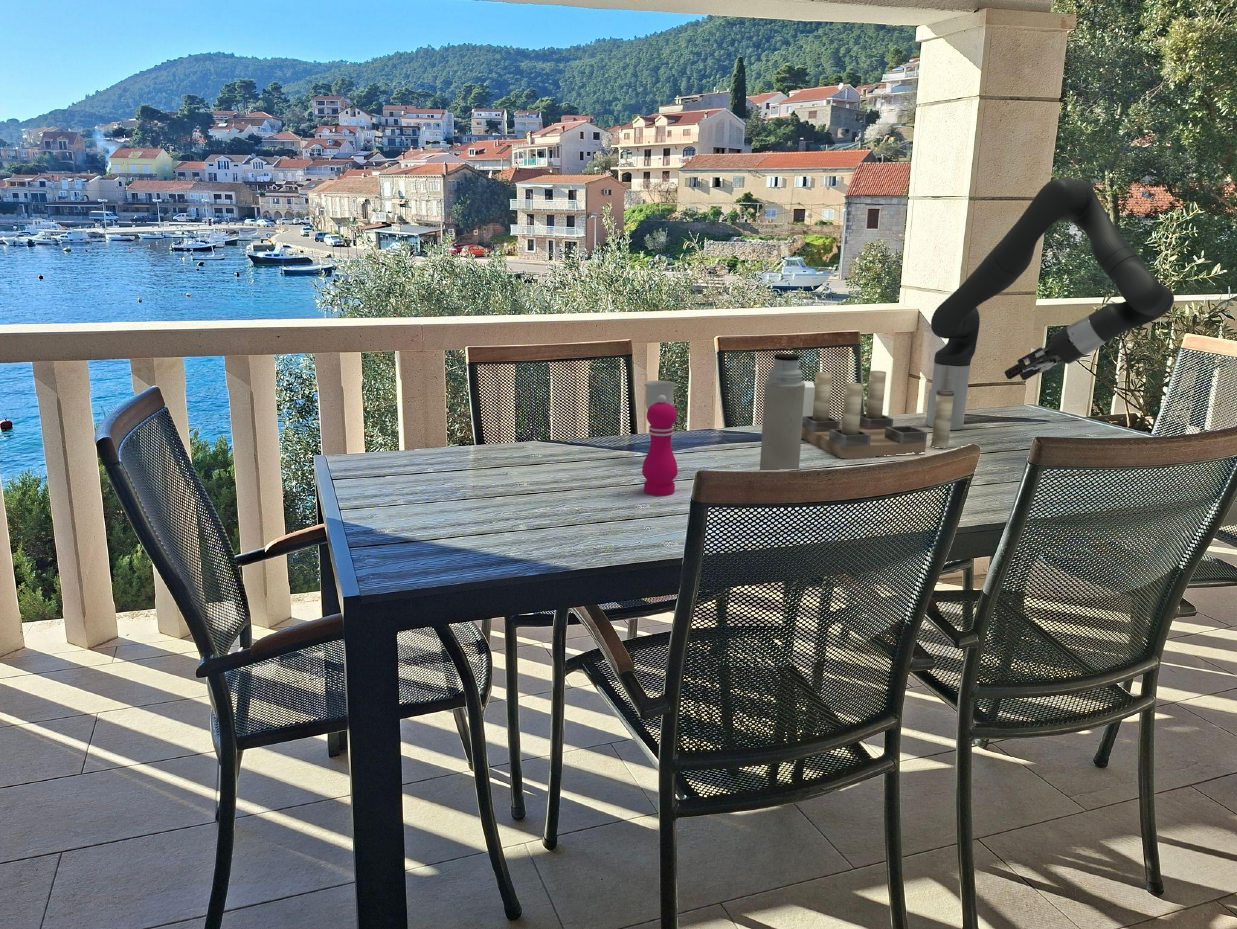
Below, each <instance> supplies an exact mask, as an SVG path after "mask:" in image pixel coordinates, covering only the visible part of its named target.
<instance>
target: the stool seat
mask: <svg viewBox="0 0 1237 929" xmlns="http://www.w3.org/2000/svg"><path fill="white" fill-rule="evenodd" d="M868 376H869V378H868V387H867V388H868V389H867V398H866V399H867V400H866V412H865V413H861V412H862V402H863V401H862V400H863V389H864V388H863V387H864V384H863V383H859V382H846V383H845V384H844V396H843V397H844V398H843V409H842V418H841V419H842V420H841V421H840V420H838V419H836V418H833V417H832V416H830V408H831V407H830V406H831V397H832V396H831V395H832V382H833V381H832V380H833V373H831V372H824V371H823V372H822V371H818V372H815V381H814V386H815V392H814V405H813V416H803V420H802V434H801V440H805V441H806V442H807V443H808V442H809V443H810V444H812V445H813V446H816V447H818V448H819V449H820V450H821V449H822V450H823V451H825V452H827V453H829V454H832V455H833V456H835V455H836V456H835V457H837V458H839V457H840V458H839V459H841V458H855V457H873V458H875V457H874V456H884V455H886V456H887V455H896V454H906V453H912V452H914V453H915V454H919V453H921V452H925V454H926V445H927V438H928V432H927V431H925V430H922V429H921V428H920V429H919V428H917V427H915V426H912V425H903V426H901V425H900V426H899V425H898V426H896V425H895V426H894V418H892V417H889V416H887V415H885V414H883V410H884V402H885V401H884V400H885V399H884V398H885V388H886V379H887V378H886V377H887V371H883V370H870V371H869V375H868ZM925 454H924V455H925ZM924 455H923V456H924ZM855 459H856V458H855Z"/></svg>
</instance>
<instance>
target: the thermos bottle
mask: <svg viewBox="0 0 1237 929" xmlns="http://www.w3.org/2000/svg"><path fill="white" fill-rule="evenodd" d="M773 356H774V357H773V359H774V362H773V368H771V369H769V372H768V374H767V376H768V379H767V380H765V381H764V391H763V392H764V394H763V410H762V411H763V412H762V427H761V442H760V444H761V446H760V460H759V471H760V470H779V469H799V470H800V460H801V459H800V458H801V448H802V446H801V445H802V444H801V443H802V438H801V434H802V420H803V406H804V392H805V383H804V382H802V381H803V377H804V375H803V372H802V370H800V368H799V364H800V363H799V360H800V355H798V354H795V353H776V354H774V355H773Z"/></svg>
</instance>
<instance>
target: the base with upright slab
mask: <svg viewBox="0 0 1237 929" xmlns="http://www.w3.org/2000/svg"><path fill="white" fill-rule="evenodd" d="M802 382H804V383H805V392H804V406H803V416H813V405H814V392H815V382H814V381H810V380H809V381H808V380H807V381H806V380H804V381H803V380H802Z"/></svg>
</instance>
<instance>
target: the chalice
mask: <svg viewBox="0 0 1237 929" xmlns="http://www.w3.org/2000/svg"><path fill="white" fill-rule="evenodd" d="M643 384H644V386H645V407H646V410H647V411H648V408H649V407H650V406H651V405H652V404H654V403H658V397H659V396H660V395H665V396H666V399H667V400H666V402H665V403H669V404H671V405H672V406H673V407H674V390H675V387H676V386H677V383H676V382H674V381H669V380H647V381H644V382H643Z"/></svg>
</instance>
